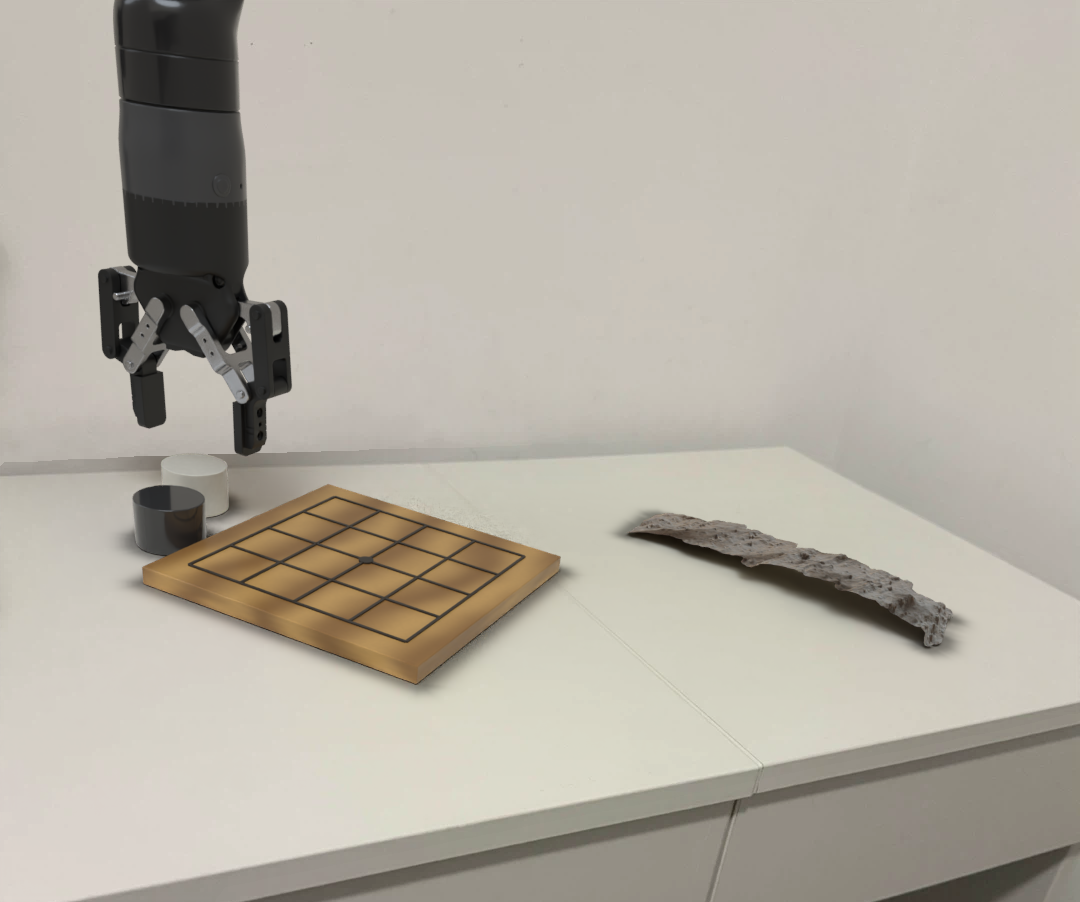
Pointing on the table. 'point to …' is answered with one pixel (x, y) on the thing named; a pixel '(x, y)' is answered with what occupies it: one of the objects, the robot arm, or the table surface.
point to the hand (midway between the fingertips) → (199, 438)
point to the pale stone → (199, 478)
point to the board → (358, 578)
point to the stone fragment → (808, 567)
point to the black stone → (168, 518)
